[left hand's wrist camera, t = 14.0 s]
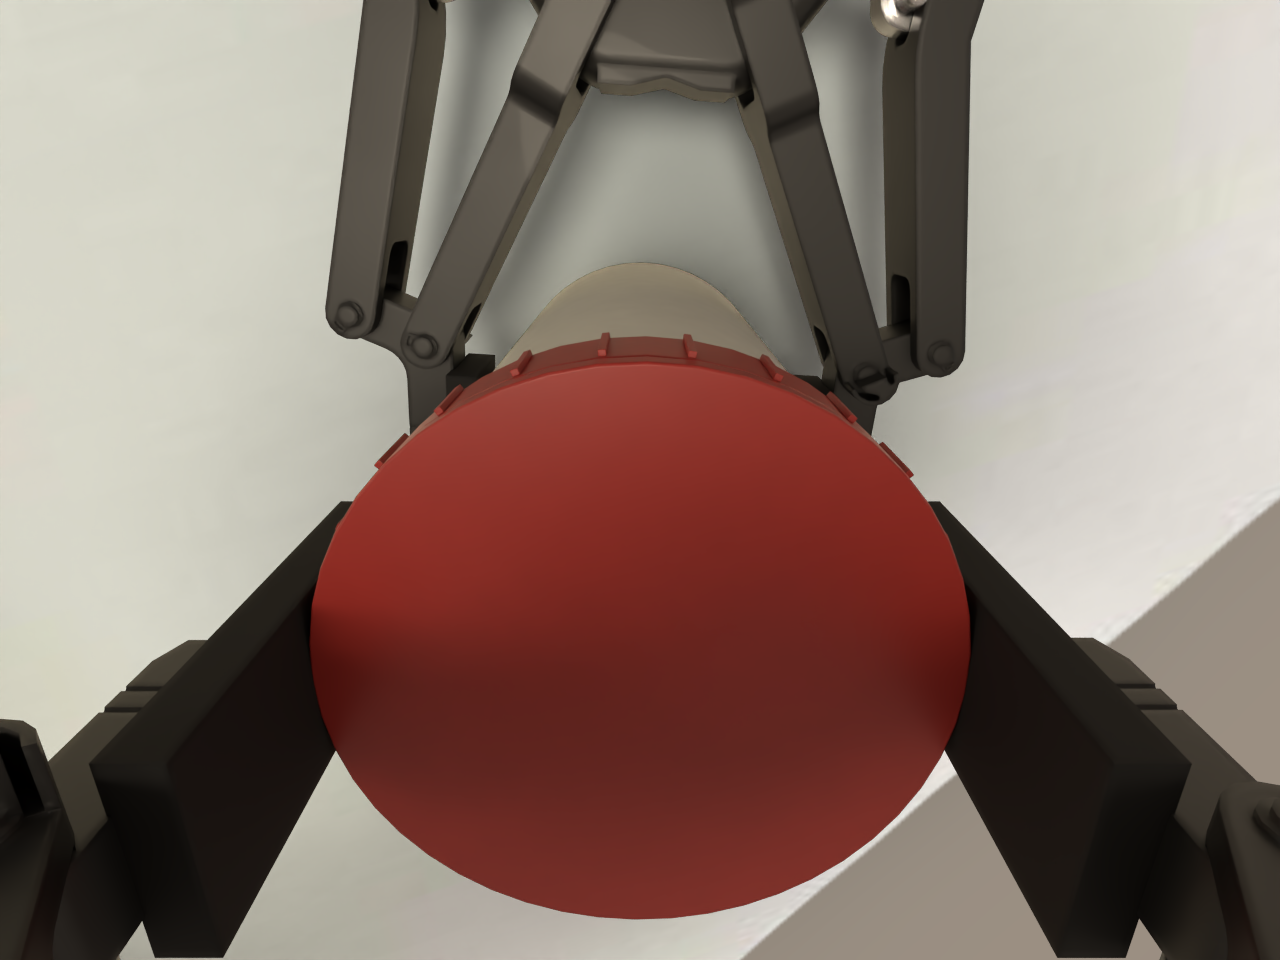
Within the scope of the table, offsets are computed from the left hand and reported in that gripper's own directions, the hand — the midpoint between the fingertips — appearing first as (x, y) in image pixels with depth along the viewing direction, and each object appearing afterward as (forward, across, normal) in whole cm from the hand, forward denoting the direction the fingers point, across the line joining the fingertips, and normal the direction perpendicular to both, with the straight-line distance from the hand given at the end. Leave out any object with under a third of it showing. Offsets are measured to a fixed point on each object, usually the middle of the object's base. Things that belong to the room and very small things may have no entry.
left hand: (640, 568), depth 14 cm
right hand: (+8, 0, -5) cm, 9 cm away
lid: (-3, 0, 0) cm, 3 cm away
